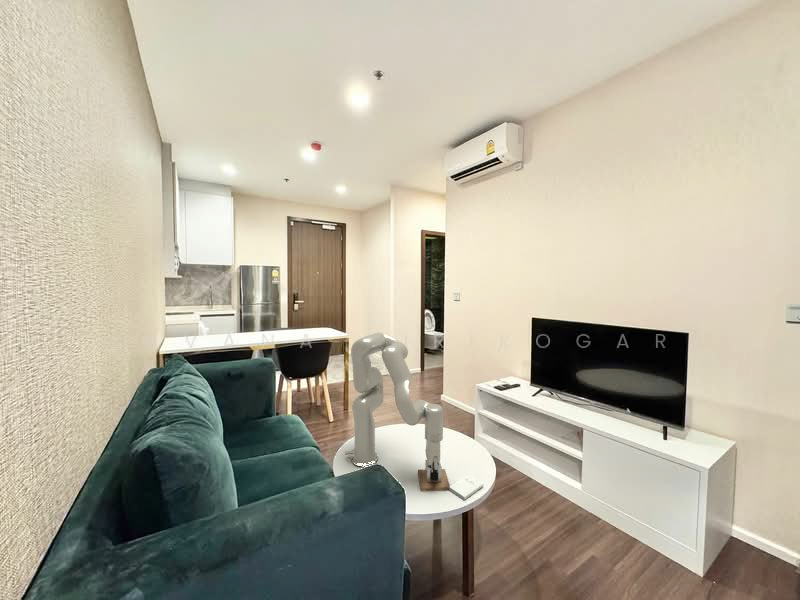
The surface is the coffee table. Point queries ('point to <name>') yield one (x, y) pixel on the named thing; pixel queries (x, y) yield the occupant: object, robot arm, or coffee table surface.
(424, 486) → the shaft block
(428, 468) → the grey hollow cube
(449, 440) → the coffee table surface
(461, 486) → the external hard drive
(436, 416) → the robot arm
